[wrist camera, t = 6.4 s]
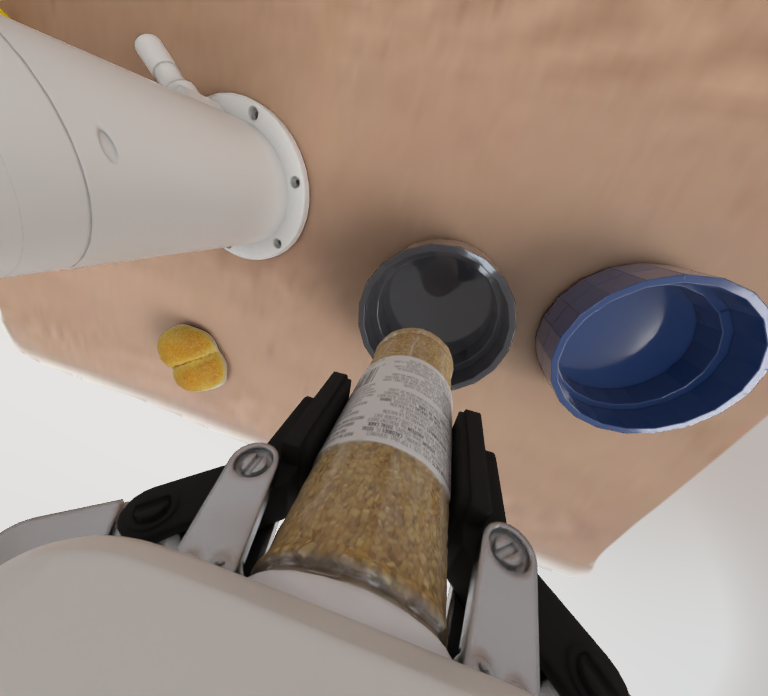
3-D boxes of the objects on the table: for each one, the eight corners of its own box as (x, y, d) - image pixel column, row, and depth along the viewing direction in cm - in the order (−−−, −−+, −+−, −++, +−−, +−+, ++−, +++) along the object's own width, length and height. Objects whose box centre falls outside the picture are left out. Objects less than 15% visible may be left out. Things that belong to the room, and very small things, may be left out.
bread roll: (203, 315, 33) (173, 327, 29) (240, 377, 36) (217, 395, 32) (161, 330, 36) (128, 342, 32) (198, 386, 39) (172, 403, 35)
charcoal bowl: (352, 281, 26) (331, 294, 22) (470, 208, 21) (473, 206, 17) (411, 379, 30) (403, 407, 25) (526, 335, 25) (541, 361, 20)
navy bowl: (514, 306, 24) (526, 327, 19) (692, 229, 19) (762, 234, 14) (560, 410, 27) (580, 448, 23) (723, 368, 22) (789, 406, 18)
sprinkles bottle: (408, 405, 17) (308, 829, 5) (359, 352, 16) (112, 723, 4) (471, 369, 15) (534, 934, 3) (420, 307, 14) (252, 775, 2)
